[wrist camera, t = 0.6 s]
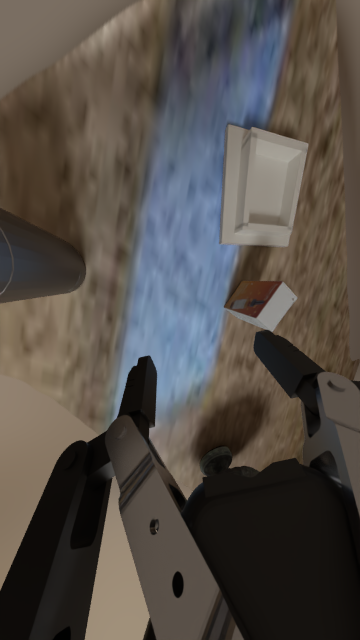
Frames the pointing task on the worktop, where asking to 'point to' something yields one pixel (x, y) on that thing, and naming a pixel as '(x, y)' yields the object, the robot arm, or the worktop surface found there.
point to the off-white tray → (260, 187)
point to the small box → (261, 302)
